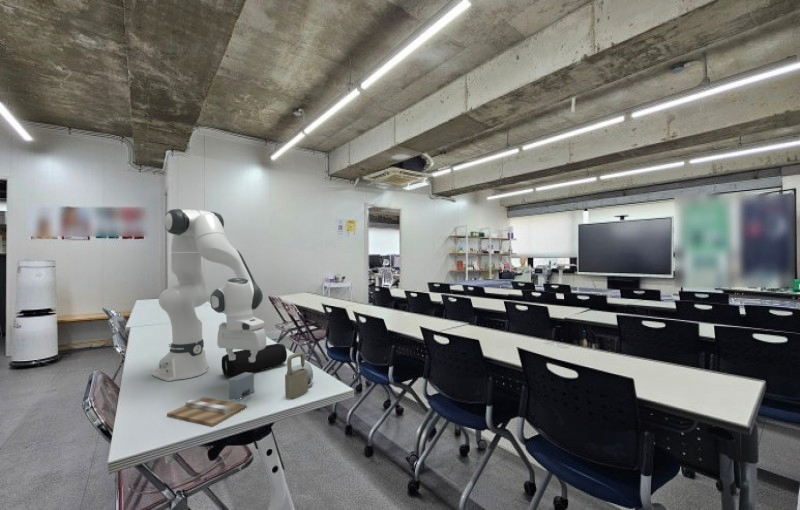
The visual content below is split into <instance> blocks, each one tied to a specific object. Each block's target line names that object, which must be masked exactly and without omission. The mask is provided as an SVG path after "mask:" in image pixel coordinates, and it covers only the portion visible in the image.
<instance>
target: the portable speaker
mask: <svg viewBox="0 0 800 510" xmlns="http://www.w3.org/2000/svg"><path fill="white" fill-rule="evenodd" d="M233 353H234V355H236V359H235V360H233V361H232V360H229V356H228V354H227V353H226V354H224V355H223V356H222V357H221V370H222V371H221V372H222V374H223V376H225V377H230V378H233V377H235V376H237V375H240V374H242V373H245V372H248V373H254V372H258V370H259V371H263V370H265V369H266V368H267V369H271V368H274V367H279V366H281V365H282V364H284V363H286V362H287V359H288V352H287V348H286V346H285V344H282V343H273V344H268V345H267V344H266V347H265V348H264V349H262V350H259V351H258V352H257V355H256V356H255V358H256V361H255V362H249V357H251V354H252V353H250V350H241V349H240V350H236V351H233ZM270 367H271V368H270ZM262 369H263V370H262Z"/></svg>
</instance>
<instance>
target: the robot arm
mask: <svg viewBox="0 0 800 510" xmlns="http://www.w3.org/2000/svg"><path fill="white" fill-rule="evenodd" d="M163 223H164V227H165V228H164V229H165V230H166V231H167V232H168V233H169V234H172V239H171V245H170V247H171V249H170V251H171V255H170V258H171V259H170V260H171V261H170V262H171V263H170V269H171V271H172V273H173V274H174V275H175V276H176V277H175V278H176V279H177V282H178V285H173V286H170V287H168V288H166V289H165V290H163V291H162V292H161V293H160V294H159V296H158V304H159V306H160V308H161V309H162V310H164V311H165V313H166V314H167V315H168V318H169V322H170V325H171V332H172V335H171V336H172V342H171V343H169V344H168V345H169V346H168V348H169V347H170V348H169V352H168V353H166V355H164V356H163V357H162V358H160V360H159V363H158V370H155V371H153V372H152V373H151V374H152V375H153V377H156V378H158V379H161V380H163V381H165V382H171V381H177V380H184V379H185V380H186V379H191V378H195V377H198V376H201V375H203V374H205V373H207V372H208V368H209V364H207V363H208V362H207V356H206V351H205V349H204V347H205V346H204V345H205V341H204V339H203V323H202V320H201V319H199V317H198V316H197V313H196V308H199V307H201V306H203V305H204V304H206V303H207V302H208V301H209V300H210V307H211V309H212V310H214V311H215V312H216V313H218V314H226V316H225V317H226V322H223V321H222V322H221V323H220V324H219V325H218V331H217V341H216V342H217V343H216V344H217V346H218V348H219V349H225V352H226V354H228V356H229V360H232V361H233V360H235V359H236V355H234V353H233V352H234V351H233V350H240V351H241V350H250V353H252V354H251V357H249V362H255V361H256V358H255V356H256V355H257V352H258V351H259V350H262V349H264V348H265V347H266V346H267V333H266V329H265V328H264V327H265V325H266V324H265V321H264V320H262V319H260V318H258V317H256V316H254V311H255V310H256V309H257V308H259V306H260V305H261V303H262V301H263V298H264V297H263V296H264V295H263V292H262V289H261V288H260V286H259V285H258V283H256V281H255V279H254V277H253V275H252V273H251V271H250V269H249V266H248V264H247V263H246V261H245V259H244V257H243V255H242V253H241V252H240V251H239V250H238V249H236V248H234V246H233V245H232V244H231V243H230V242H229V240H228V238H227V235H226V232H225V229H224V228H225V227H224V226H225V221H224V218H223V216H222V215H221V214H220V213H218V212H215V211H208V210H201V209H180V208H173V209H169V210H168V211H167V212H166V213H165V216H164V222H163ZM202 258H204V259H205V260H207V261H209V262H212V263H216V264H220V265H223V266H226V267H228V268H230V269H231V270H232V271H234V274H235V276H236V277H233V278H229V279H227V280H226V282H225V284H224V285H223V286H220V287H218V288H216V289H214V290H213V292H212V293H211V289H210V287H209V286H208V285H207V283H206V282H205V279H204V276H203V270H202ZM253 310H254V311H253ZM152 375H151V376H152Z"/></svg>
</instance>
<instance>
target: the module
mask: <svg viewBox="0 0 800 510" xmlns="http://www.w3.org/2000/svg"><path fill="white" fill-rule="evenodd" d="M254 377H255V376H254V372H250V373H248V372H245V373H242V374H240V375H237V376H233V377H230V378H228V399H229V400H233V399H235V401H239V400H241V399H243V394H246V393H248V394H247V395H251V394H253V393H254V392H255V379H254ZM252 392H253V393H252ZM250 393H251V394H250ZM240 398H241V399H240ZM238 399H239V400H238Z"/></svg>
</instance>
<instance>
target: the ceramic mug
mask: <svg viewBox="0 0 800 510" xmlns="http://www.w3.org/2000/svg"><path fill="white" fill-rule="evenodd" d="M302 368H304V369H307V372H308V389H309V388H311V386H312V385H313V379H314V373H313V372H314V370H313V368H312V366H311V364H310V363H309V362H307V361H305V364H304V367H302V365H301V363H300V364H297V365H294V366H292V371H294V370H297V369H302ZM287 373H288V371H286V374H287Z"/></svg>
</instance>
